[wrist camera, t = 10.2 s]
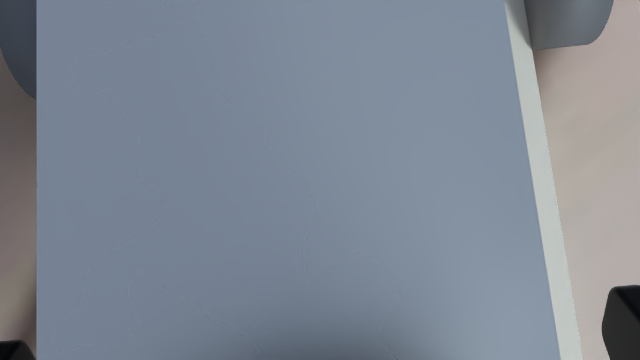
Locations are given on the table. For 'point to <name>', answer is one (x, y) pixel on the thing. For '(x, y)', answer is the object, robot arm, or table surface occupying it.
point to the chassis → (525, 35)
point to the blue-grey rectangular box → (285, 183)
